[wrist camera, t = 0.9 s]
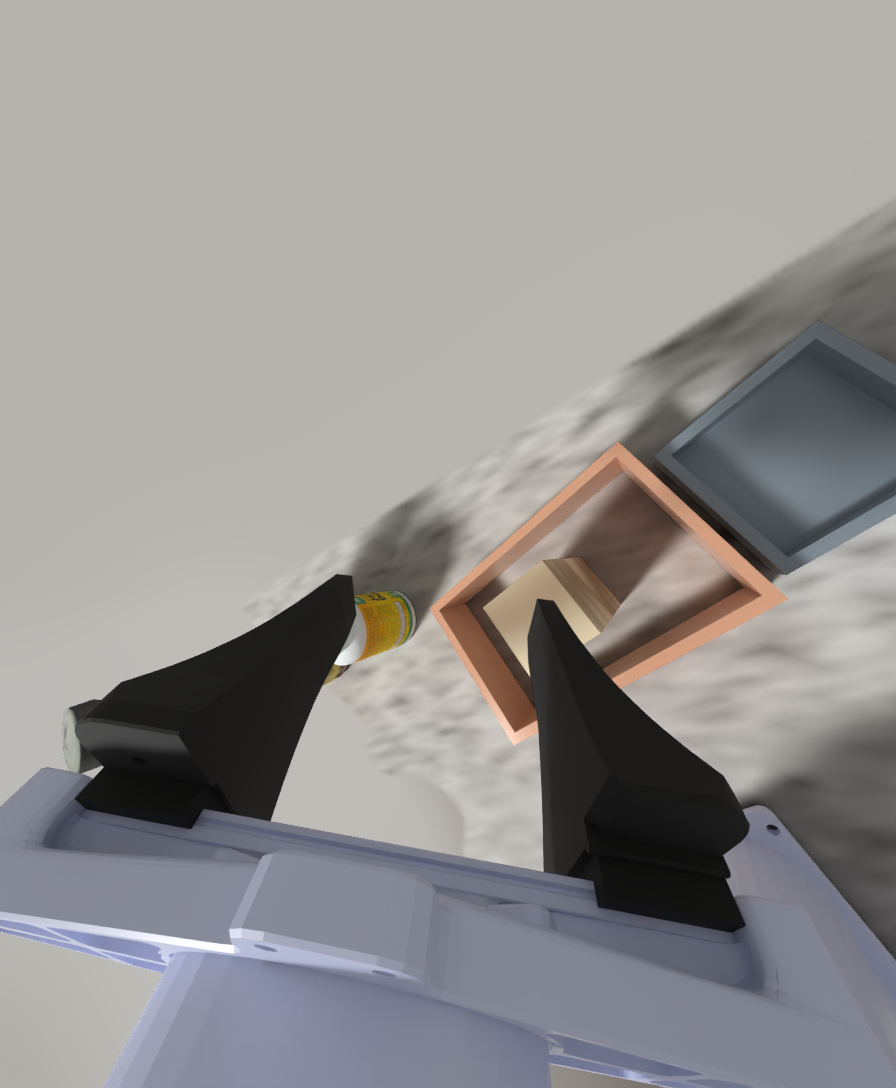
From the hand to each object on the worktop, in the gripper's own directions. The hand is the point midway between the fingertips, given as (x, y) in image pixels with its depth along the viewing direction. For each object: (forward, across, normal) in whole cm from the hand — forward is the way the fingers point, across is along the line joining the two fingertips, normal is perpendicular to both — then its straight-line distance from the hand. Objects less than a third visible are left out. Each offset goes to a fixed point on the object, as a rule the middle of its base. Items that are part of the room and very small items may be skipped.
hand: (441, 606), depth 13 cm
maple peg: (+9, -8, +6) cm, 14 cm away
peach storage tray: (+9, -8, +6) cm, 14 cm away
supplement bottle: (+14, +6, +14) cm, 21 cm away
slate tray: (+10, -17, -4) cm, 20 cm away
